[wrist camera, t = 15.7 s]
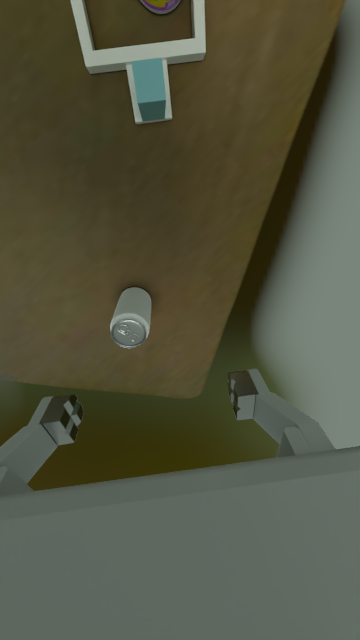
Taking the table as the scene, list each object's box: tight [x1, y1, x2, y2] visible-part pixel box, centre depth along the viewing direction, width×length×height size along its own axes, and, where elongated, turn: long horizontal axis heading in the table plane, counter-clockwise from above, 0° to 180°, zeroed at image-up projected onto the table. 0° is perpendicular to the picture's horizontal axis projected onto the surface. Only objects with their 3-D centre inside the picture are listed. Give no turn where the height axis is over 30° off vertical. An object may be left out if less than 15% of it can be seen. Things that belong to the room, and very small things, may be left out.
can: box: [110, 287, 151, 348], centre depth 40 cm, size 6×6×12 cm
